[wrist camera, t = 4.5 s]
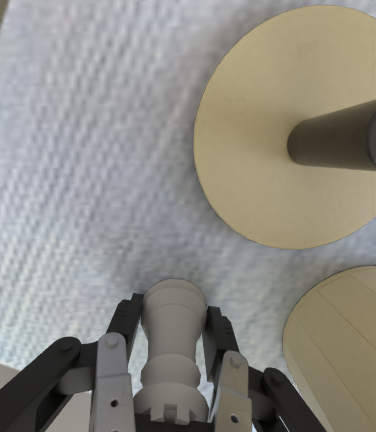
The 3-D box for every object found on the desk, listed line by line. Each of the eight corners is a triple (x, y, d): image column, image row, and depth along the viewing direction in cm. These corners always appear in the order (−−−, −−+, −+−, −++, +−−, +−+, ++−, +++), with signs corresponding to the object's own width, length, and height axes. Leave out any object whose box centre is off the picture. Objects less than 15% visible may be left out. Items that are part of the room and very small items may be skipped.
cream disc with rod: (221, -10, 11) (275, -233, 5) (442, 52, 12) (732, -64, 6) (173, 222, 14) (167, 277, 8) (353, 258, 15) (478, 332, 9)
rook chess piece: (147, 333, 16) (116, 490, 9) (137, 278, 15) (92, 402, 8) (208, 326, 16) (232, 478, 9) (203, 271, 15) (225, 389, 8)
